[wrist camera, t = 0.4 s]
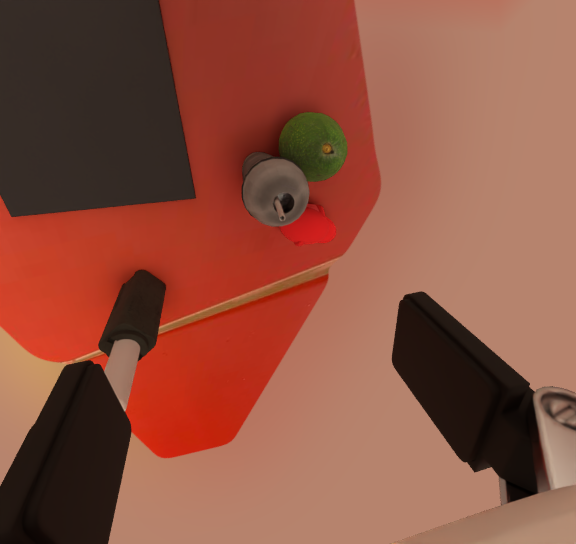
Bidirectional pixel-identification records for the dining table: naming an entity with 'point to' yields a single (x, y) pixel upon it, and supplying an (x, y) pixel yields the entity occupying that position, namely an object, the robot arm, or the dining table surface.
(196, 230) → the dining table surface
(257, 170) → the beverage cup
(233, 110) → the dining table surface
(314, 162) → the fruit
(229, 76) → the dining table surface
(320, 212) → the red animal figurine
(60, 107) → the mat
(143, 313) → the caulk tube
